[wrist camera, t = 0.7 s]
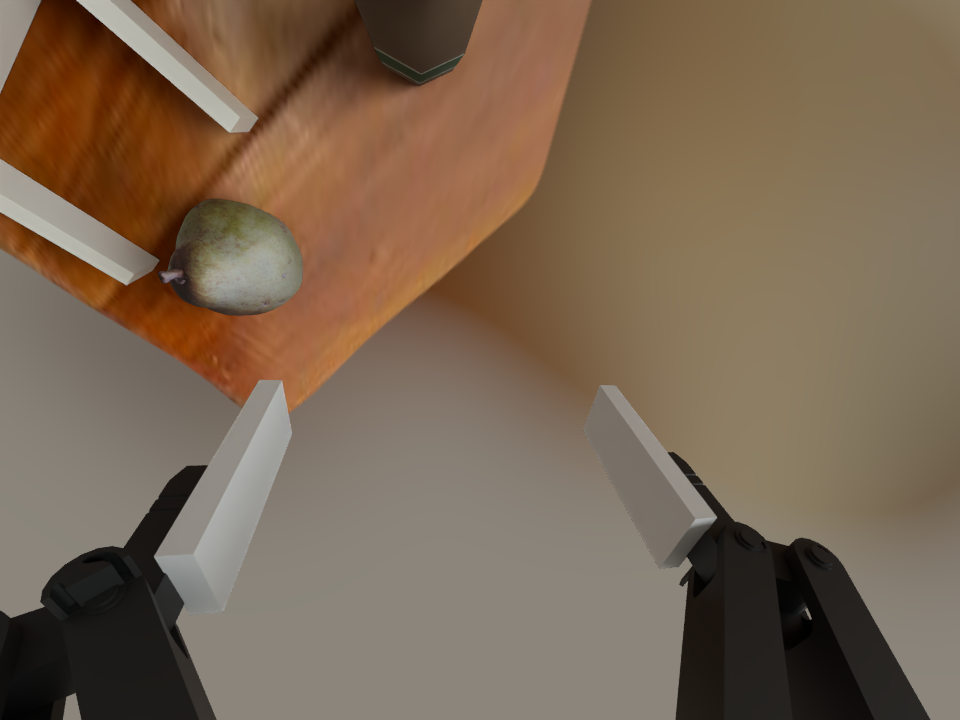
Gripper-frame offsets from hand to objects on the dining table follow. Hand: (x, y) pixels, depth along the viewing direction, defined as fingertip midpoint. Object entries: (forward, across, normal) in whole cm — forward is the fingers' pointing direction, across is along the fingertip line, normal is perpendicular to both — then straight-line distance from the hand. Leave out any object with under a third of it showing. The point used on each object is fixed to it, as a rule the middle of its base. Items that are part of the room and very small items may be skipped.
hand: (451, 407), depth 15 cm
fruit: (+28, -16, -3) cm, 33 cm away
